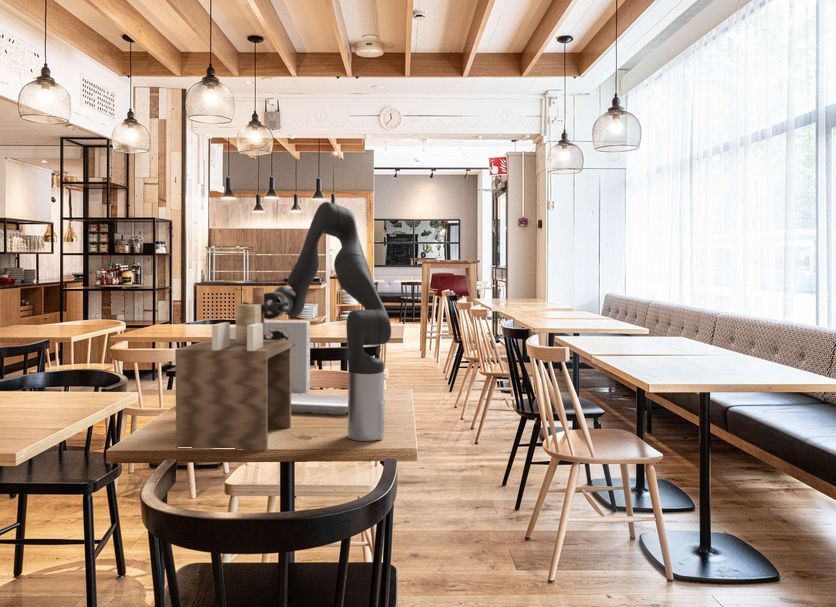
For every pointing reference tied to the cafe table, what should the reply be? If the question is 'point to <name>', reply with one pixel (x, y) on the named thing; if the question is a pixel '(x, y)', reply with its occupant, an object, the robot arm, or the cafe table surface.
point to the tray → (319, 403)
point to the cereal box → (293, 349)
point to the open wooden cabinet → (232, 394)
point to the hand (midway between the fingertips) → (255, 309)
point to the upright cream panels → (223, 336)
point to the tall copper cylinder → (249, 314)
